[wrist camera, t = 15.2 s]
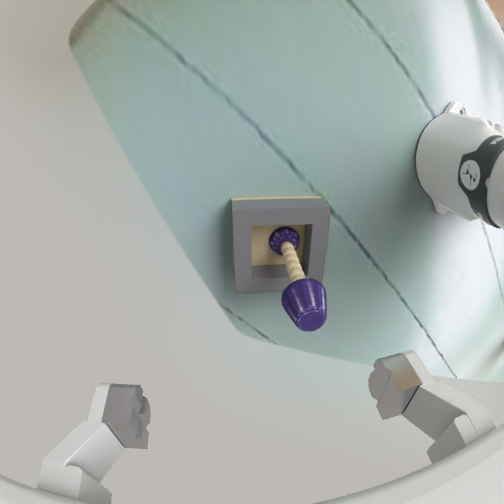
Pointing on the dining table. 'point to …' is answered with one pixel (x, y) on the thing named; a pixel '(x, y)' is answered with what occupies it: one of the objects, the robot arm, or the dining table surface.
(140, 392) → the robot arm
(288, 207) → the socket block
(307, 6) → the dining table surface
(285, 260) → the toy lamp
